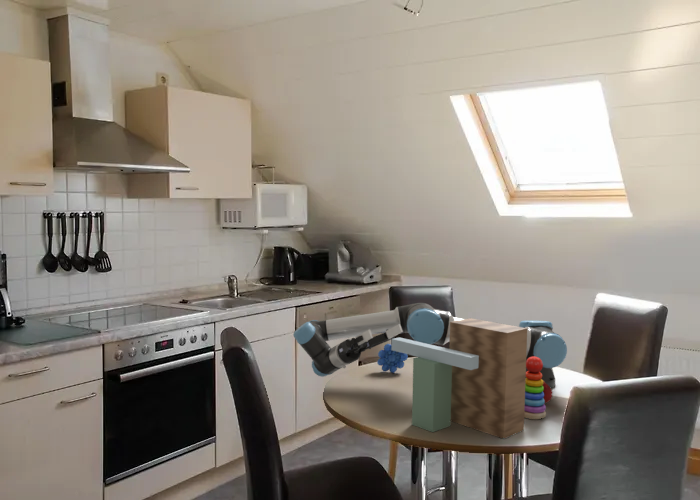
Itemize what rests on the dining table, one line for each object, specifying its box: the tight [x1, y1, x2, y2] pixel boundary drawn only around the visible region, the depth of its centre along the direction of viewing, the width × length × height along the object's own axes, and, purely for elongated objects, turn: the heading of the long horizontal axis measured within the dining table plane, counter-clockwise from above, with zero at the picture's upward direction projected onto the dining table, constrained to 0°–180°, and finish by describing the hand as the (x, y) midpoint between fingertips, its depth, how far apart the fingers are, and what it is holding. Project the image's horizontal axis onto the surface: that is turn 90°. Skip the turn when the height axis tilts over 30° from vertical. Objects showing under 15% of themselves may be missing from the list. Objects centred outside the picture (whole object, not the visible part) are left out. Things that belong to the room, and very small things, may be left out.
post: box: [411, 356, 452, 433], centre depth 189 cm, size 8×8×20 cm
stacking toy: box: [524, 356, 547, 420], centre depth 198 cm, size 8×8×19 cm
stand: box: [448, 317, 527, 439], centre depth 189 cm, size 20×10×30 cm, turn 43°
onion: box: [542, 381, 553, 404], centre depth 210 cm, size 6×6×8 cm
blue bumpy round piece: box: [376, 343, 409, 374], centre depth 247 cm, size 12×7×12 cm, turn 81°
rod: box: [391, 336, 479, 370], centre depth 188 cm, size 30×4×4 cm, turn 43°
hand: (386, 330), depth 201 cm, fingers open, 13 cm apart
